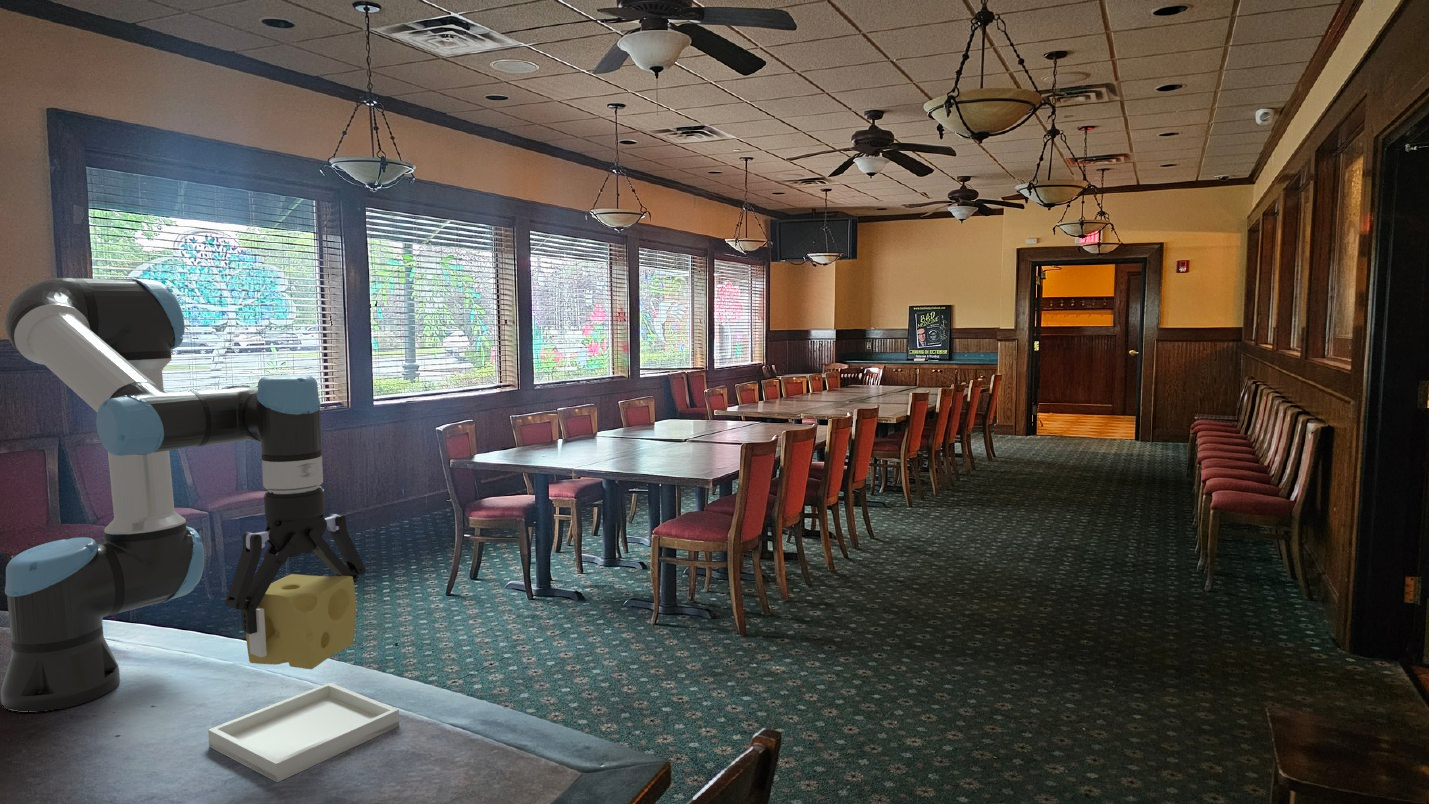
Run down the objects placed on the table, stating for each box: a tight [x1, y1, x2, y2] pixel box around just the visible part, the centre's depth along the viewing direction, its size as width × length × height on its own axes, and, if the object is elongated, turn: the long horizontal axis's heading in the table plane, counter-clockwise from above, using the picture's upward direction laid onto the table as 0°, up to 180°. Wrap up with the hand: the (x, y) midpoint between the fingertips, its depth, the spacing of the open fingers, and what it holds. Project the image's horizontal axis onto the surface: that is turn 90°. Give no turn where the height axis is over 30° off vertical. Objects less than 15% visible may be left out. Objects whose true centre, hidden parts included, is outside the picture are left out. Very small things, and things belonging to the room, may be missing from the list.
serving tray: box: [207, 682, 400, 783], centre depth 128 cm, size 17×19×2 cm
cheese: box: [245, 573, 357, 670], centre depth 126 cm, size 10×11×10 cm
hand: (302, 640), depth 127 cm, fingers closed on cheese, 12 cm apart
